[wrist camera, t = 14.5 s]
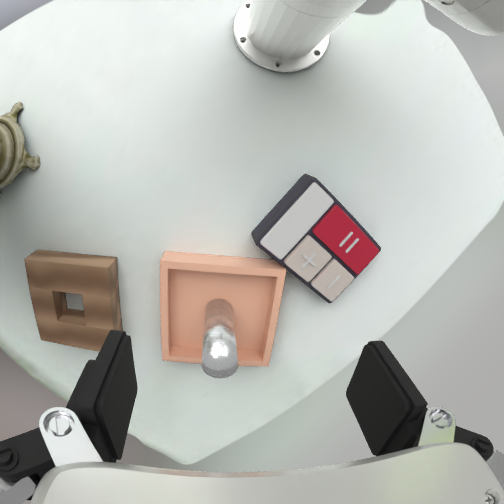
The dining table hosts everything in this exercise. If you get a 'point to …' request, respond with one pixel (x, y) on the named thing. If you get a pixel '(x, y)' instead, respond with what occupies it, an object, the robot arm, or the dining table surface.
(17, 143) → the samovar
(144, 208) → the dining table surface
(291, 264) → the calculator
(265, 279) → the tray
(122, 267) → the dining table surface
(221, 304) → the pin
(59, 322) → the wooden square hole block
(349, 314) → the dining table surface
